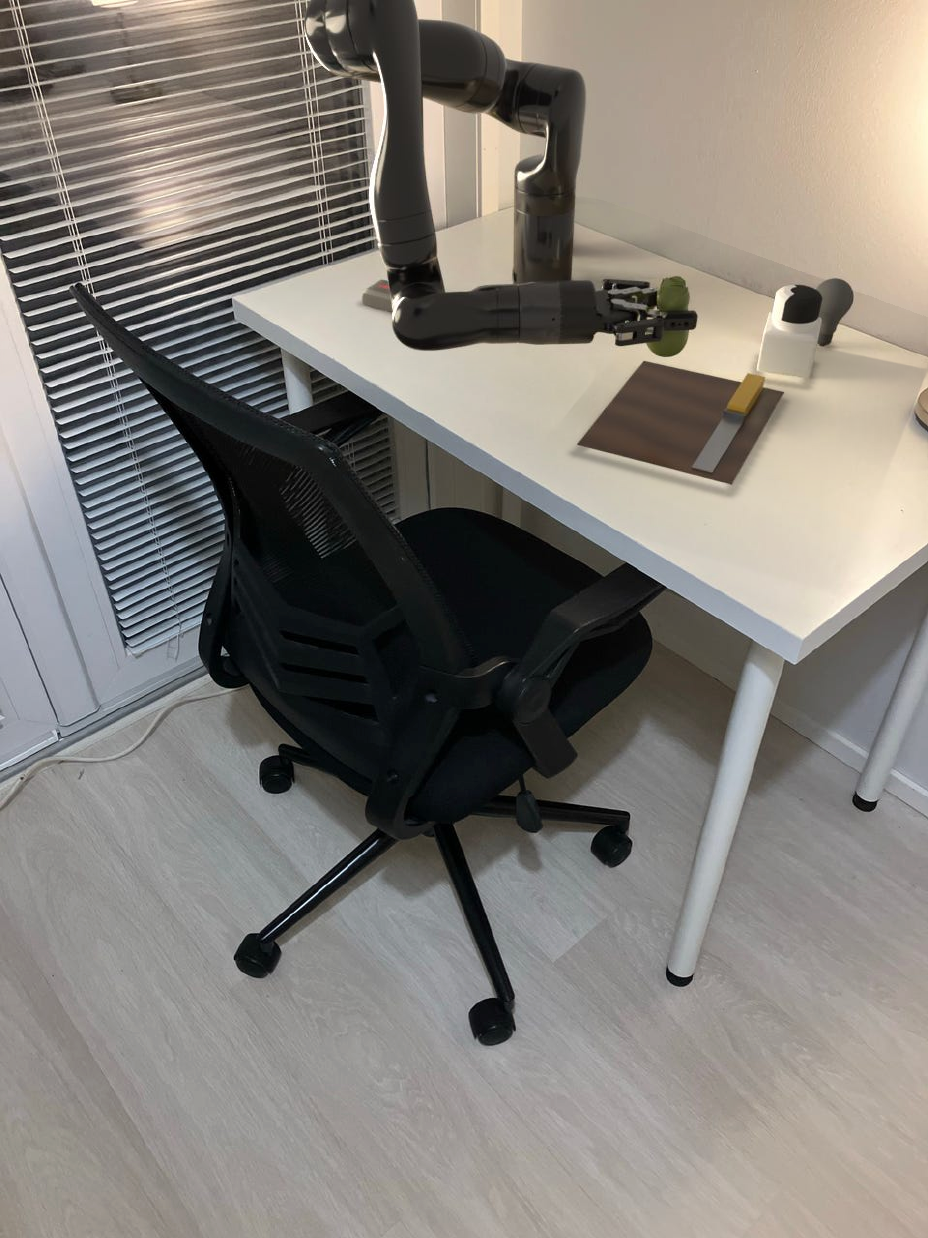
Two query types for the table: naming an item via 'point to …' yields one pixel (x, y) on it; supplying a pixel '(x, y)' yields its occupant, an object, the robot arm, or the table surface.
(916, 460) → the table surface
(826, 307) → the light bulb
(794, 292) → the medicine bottle
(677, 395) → the cutting board
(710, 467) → the knife
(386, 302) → the usb drive
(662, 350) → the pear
